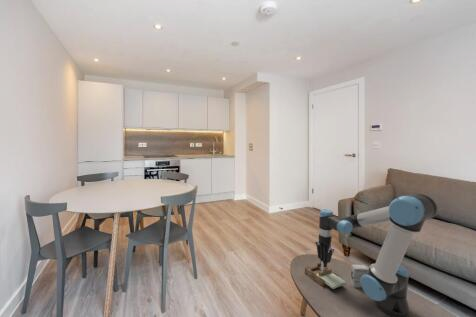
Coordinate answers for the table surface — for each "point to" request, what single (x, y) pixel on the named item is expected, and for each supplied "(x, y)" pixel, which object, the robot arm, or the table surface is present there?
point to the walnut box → (313, 274)
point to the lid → (331, 278)
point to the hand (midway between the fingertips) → (323, 271)
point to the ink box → (357, 274)
